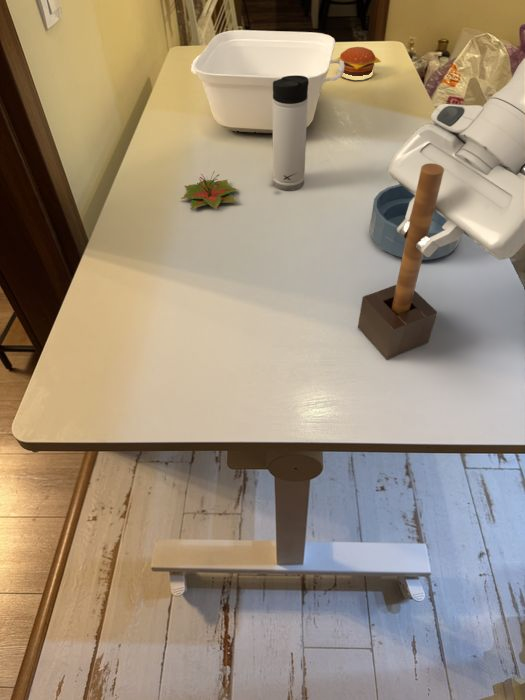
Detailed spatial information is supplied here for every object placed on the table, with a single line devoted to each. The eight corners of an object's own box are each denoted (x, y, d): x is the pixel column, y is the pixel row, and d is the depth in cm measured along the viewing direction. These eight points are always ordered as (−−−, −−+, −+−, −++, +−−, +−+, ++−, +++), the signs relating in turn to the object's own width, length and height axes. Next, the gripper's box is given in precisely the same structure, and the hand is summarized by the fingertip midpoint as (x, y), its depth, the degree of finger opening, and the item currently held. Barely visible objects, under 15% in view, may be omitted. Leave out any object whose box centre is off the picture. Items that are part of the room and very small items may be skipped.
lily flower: (175, 186, 104) (172, 164, 101) (233, 177, 106) (232, 156, 103) (184, 218, 96) (180, 196, 93) (247, 208, 98) (245, 186, 95)
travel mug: (291, 195, 101) (294, 87, 86) (266, 183, 104) (264, 78, 89) (311, 182, 104) (317, 76, 89) (286, 171, 107) (288, 67, 92)
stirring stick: (404, 309, 73) (439, 162, 57) (409, 321, 71) (447, 173, 55) (388, 310, 73) (418, 164, 56) (392, 322, 71) (425, 175, 55)
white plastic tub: (343, 98, 131) (349, 33, 120) (334, 151, 112) (340, 79, 102) (213, 92, 136) (207, 28, 125) (183, 142, 117) (173, 72, 106)
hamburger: (355, 66, 146) (358, 40, 141) (380, 76, 141) (384, 49, 136) (330, 74, 142) (333, 47, 138) (355, 84, 137) (358, 57, 132)
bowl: (440, 209, 96) (448, 180, 92) (470, 259, 86) (481, 229, 82) (360, 216, 96) (364, 186, 91) (381, 267, 85) (387, 236, 81)
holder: (398, 311, 78) (405, 281, 74) (428, 342, 74) (437, 312, 69) (357, 327, 76) (362, 296, 72) (386, 360, 72) (393, 329, 67)
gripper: (580, 204, 54) (480, 303, 59) (451, 127, 67) (377, 213, 71) (565, 175, 49) (458, 285, 54) (430, 99, 62) (352, 193, 67)
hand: (411, 243), depth 63 cm, fingers closed on stirring stick, 2 cm apart
